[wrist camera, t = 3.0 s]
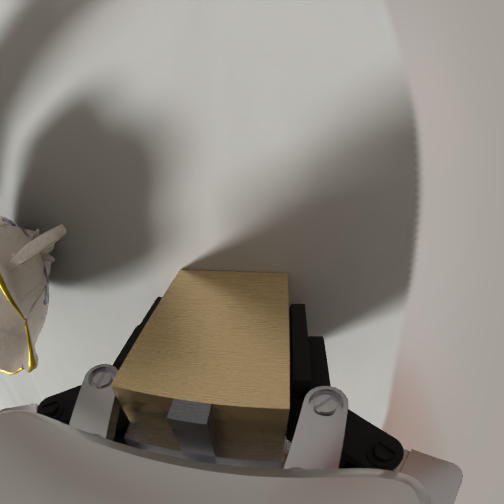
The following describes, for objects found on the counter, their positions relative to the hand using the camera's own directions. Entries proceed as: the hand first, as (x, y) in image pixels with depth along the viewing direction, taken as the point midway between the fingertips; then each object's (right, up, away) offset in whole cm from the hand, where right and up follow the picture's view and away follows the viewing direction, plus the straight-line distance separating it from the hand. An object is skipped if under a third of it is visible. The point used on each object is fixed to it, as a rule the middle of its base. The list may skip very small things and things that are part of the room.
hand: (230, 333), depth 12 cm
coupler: (0, +1, +1) cm, 1 cm away
